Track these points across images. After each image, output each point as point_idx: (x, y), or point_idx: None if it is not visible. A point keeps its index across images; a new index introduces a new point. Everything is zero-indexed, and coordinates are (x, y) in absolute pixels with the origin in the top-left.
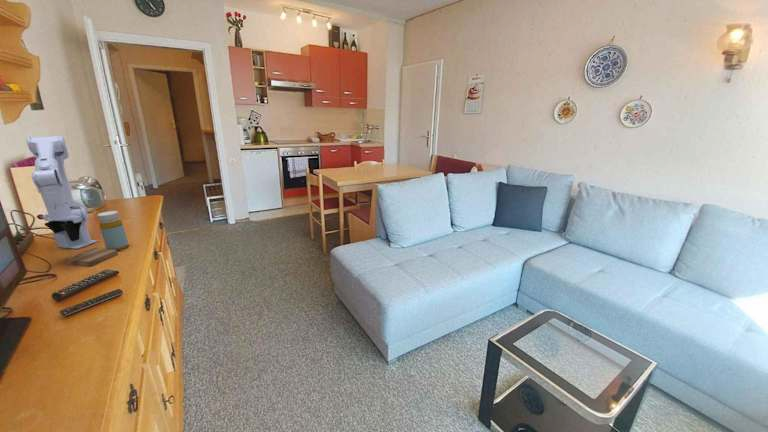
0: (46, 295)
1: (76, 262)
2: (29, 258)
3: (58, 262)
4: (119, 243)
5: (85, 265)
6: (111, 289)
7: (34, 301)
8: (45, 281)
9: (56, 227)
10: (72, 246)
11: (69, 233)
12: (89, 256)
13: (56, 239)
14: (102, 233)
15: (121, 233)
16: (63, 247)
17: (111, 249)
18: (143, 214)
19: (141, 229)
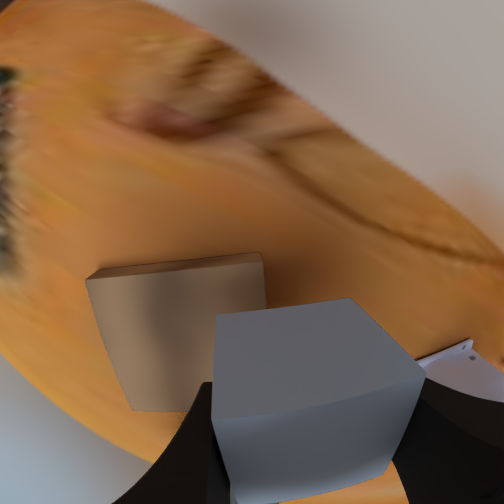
0: (25, 55)
1: (186, 265)
2: (486, 238)
3: (346, 250)
4: None
5: (126, 267)
6: None
7: (29, 28)
8: (139, 82)
9: (445, 458)
10: (429, 364)
11: (163, 452)
12: (166, 331)
13: (369, 337)
14: (230, 489)
15: None
16: (457, 344)
17: (163, 411)
18: (404, 497)
19: (321, 496)
